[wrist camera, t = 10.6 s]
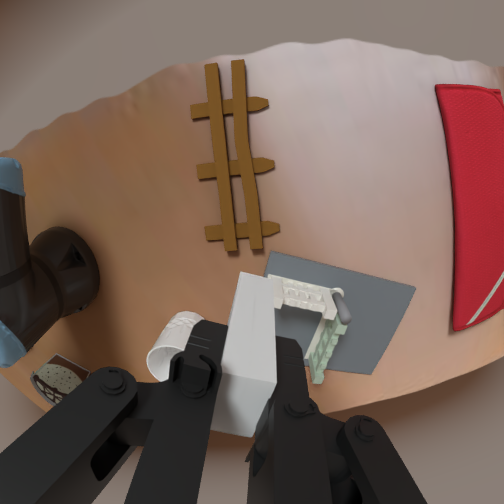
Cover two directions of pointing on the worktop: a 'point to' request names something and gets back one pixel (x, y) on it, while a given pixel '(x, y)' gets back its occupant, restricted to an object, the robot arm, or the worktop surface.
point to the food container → (58, 378)
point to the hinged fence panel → (329, 339)
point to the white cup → (171, 343)
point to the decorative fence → (234, 167)
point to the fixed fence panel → (303, 298)
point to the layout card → (357, 301)
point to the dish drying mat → (476, 198)
